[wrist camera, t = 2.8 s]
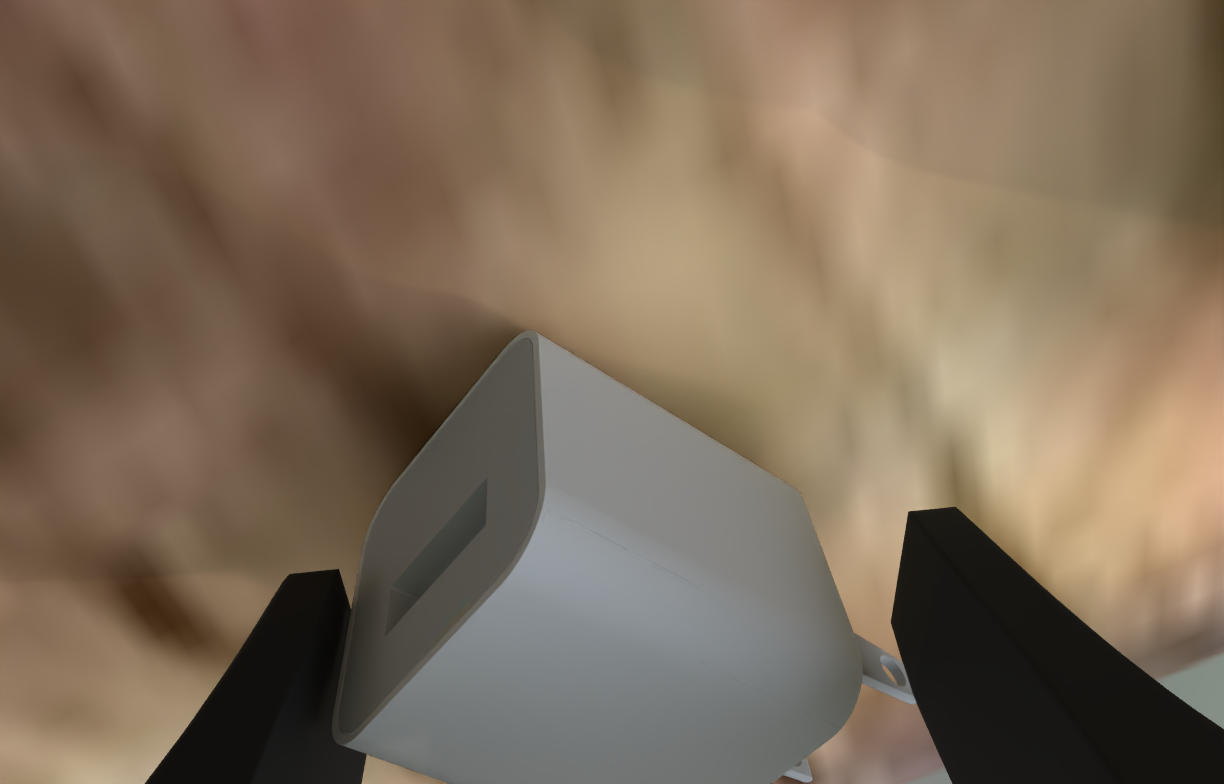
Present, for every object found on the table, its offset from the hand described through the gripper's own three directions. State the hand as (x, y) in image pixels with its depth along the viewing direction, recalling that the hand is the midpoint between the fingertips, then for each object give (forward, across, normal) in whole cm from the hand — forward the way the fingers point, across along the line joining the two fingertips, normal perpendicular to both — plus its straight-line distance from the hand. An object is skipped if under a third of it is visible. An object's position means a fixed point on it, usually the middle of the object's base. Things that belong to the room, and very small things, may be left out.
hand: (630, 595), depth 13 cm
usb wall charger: (+2, 0, 0) cm, 2 cm away
